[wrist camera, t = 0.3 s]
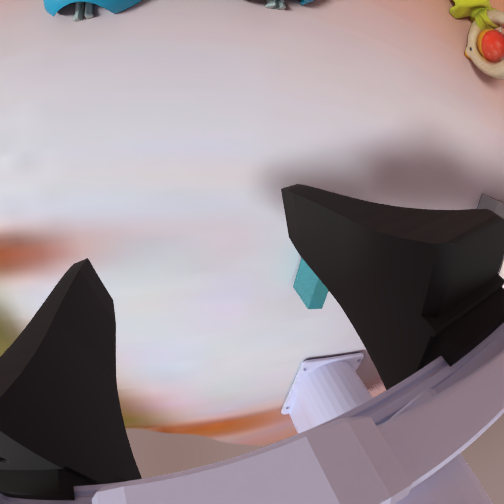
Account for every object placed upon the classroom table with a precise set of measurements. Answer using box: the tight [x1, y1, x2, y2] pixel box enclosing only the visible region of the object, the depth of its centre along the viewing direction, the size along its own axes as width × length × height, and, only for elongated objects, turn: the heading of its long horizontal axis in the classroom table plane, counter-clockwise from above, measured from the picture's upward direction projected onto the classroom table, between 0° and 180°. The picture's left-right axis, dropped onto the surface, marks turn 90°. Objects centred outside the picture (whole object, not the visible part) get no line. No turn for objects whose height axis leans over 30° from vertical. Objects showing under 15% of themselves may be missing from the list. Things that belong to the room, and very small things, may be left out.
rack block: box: [477, 194, 504, 266], centre depth 29 cm, size 8×8×2 cm
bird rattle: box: [449, 0, 504, 79], centre depth 14 cm, size 6×11×9 cm
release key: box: [293, 258, 329, 309], centre depth 24 cm, size 4×7×3 cm, turn 79°
